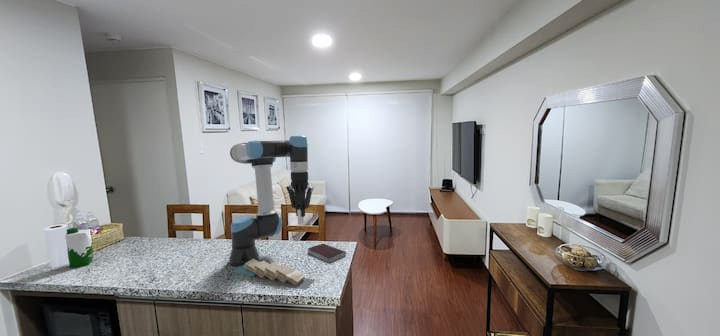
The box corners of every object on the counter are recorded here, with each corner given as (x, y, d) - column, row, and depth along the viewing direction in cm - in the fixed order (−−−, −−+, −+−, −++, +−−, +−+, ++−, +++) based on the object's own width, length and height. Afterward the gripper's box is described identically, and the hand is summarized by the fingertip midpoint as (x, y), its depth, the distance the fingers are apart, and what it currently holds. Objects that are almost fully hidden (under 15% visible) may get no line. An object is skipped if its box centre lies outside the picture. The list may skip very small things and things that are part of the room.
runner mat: (248, 278, 132) (248, 277, 132) (261, 270, 141) (261, 269, 141) (305, 290, 122) (305, 289, 122) (315, 280, 130) (315, 279, 130)
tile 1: (296, 285, 125) (275, 273, 128) (303, 279, 130) (283, 267, 134) (297, 282, 124) (276, 269, 128) (304, 275, 130) (284, 264, 134)
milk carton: (73, 263, 151) (69, 227, 149) (95, 259, 156) (91, 224, 154) (66, 269, 144) (62, 231, 142) (90, 265, 148) (86, 228, 146)
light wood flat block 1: (263, 278, 131) (243, 266, 135) (271, 273, 137) (252, 261, 140) (264, 275, 131) (244, 263, 134) (272, 269, 136) (253, 258, 140)
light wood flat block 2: (285, 283, 127) (264, 271, 131) (292, 277, 133) (272, 265, 136) (286, 279, 127) (265, 267, 130) (293, 273, 132) (273, 262, 136)
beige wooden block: (273, 281, 129) (253, 269, 133) (281, 275, 135) (262, 263, 138) (274, 277, 129) (254, 265, 132) (282, 271, 134) (263, 260, 138)
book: (323, 247, 171) (323, 242, 171) (346, 256, 158) (345, 250, 158) (307, 254, 162) (307, 248, 162) (329, 263, 149) (329, 257, 149)
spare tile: (253, 276, 133) (234, 273, 137) (262, 271, 139) (243, 268, 143) (253, 272, 133) (234, 269, 137) (262, 267, 139) (243, 264, 143)
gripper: (281, 171, 121) (283, 224, 123) (307, 172, 116) (309, 227, 119) (291, 169, 128) (293, 219, 130) (316, 170, 123) (317, 222, 126)
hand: (300, 223), depth 124 cm, fingers closed
